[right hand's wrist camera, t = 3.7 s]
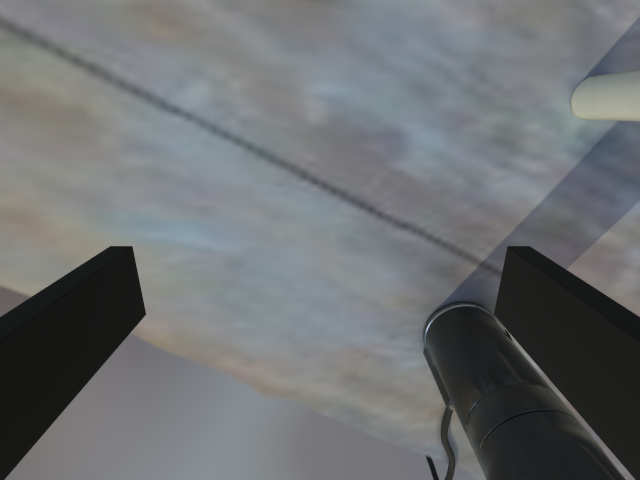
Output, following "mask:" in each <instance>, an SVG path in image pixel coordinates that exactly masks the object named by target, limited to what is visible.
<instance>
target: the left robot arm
mask: <svg viewBox="0 0 640 480" xmlns="http://www.w3.org/2000/svg"><path fill="white" fill-rule="evenodd" d="M505 331H506V330H505ZM506 333H507V334H506ZM506 333H505V332H504V331H503V330H502V328H501V327H500V326H499V325H498V324H497V322H496V321H495V319H494V318H493V316H492V315H491V314H490V313H489V312H488V311H487V310H486V309H485V308H484V307H482V306H480V305H478V304H476V303H472V302H456V303H452V304H449V305H446V306H444V307H442V308H440V309H439V310H437V311H436V312H435V313H434V314H433V315H432V316H431V317H430V318H429V320H428V321H427V323H426V325H425V327H424V331H423V341H424V344H425V346H426V347H425V350H424V352H423V353H424V355H425V358H426V360H427V362H428V365H429V367H430V369H431V372H432V374H433V376H434V379H435V381H436V383H437V386H438V388H439V390H440V393H441V395H442V397H443V400H444V402H445V404H446V406H447V408H446V411H445V414H444V417H443V421H442V427H441V440H442V444H443V446H444V449H445V451H446V453H447V455H448V458H449V466H448V471H447V475H446V478H445V480H452V479H453V475H454V470H455V457H454V454H453V451H452V449H451V447H450V445H449V442H448V438H447V433H448V426H449V422H450V419H451V415H452V413H453V411H456V413H457V415H458V418H459V420H460V422H461V424H462V426H463V429H464V431H465V433H466V435H467V437H468V439H469V442H470V444H471V446H472V448H473V450H474V453H475V455H476V457H477V459H478V461H479V464H480V466H481V468H482V471H483V473H484V475H485V477H486V480H626V478H625V477H624V476H623V475H622V474H621V472H620V471H619V470H618V469H617V468H616V466H615V465H614V464H613V463H612V461H611V460H610V459H609V458H608V456H607V455H606V454H605V452H604V451H603V449H602V448H601V446H600V445H599V444H598V443H597V441H596V440H595V439H594V438H593V437H592V436H591V435H590V433H589V432H588V431H587V430H586V429H585V427H584V426H583V425H582V424H581V423H580V421H579V420H578V419H577V418H576V417H575V415H574V414H573V413H572V412H571V411H570V409H569V408H568V407H567V406H566V405H565V403H564V402H563V401H562V400H561V399H560V398H559V397H558V395H557V394H556V393H555V392H554V390H553V389H552V388H551V387H550V386H549V384H548V383H547V382H546V381H545V380H544V379H543V377H542V376H541V375H540V374H539V373H538V371H537V370H536V369H535V368H534V367H533V365H532V364H531V363H530V362H529V361H528V359H527V358H526V357H525V356H524V355H523V353H522V352H521V351H520V350H519V349H518V347H517V346H516V345H515V344H514V343H513V341H512V339H511V337H510V335H509V333H508V332H507V331H506ZM507 335H508V336H507ZM425 456H426V459H427V462H428V464H429V467H430V470H431V473H432V477H433V480H439V478H438V475H437V472H436V469H435V466H434V463H433V460H432V458H431V457H430V456H427V455H425Z"/></svg>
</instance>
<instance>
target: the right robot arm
mask: <svg viewBox="0 0 640 480" xmlns="http://www.w3.org/2000/svg"><path fill="white" fill-rule="evenodd" d="M145 315H146V312H145V307H144V302H143V297H142V292H141V287H140V282H139V277H138V272H137V267H136V262H135V257H134V252H133V247H132V246H110V247H109V248H107V249H105V250H104V251H102V252H101V253H99V254H98V255H96V256H95V257H93V258H91V259H90V260H88V261H87V262H85V263H84V264H82V265H81V266H79V267H77V268H76V269H74V270H73V271H71V272H70V273H68V274H67V275H65V276H63V277H62V278H60V279H59V280H57V281H56V282H54V283H53V284H51V285H49V286H48V287H46V288H45V289H43V290H42V291H40V292H39V293H37V294H36V295H34V296H32V297H31V298H29V299H28V300H26V301H25V302H23V303H22V304H20V305H18V306H17V307H15V308H14V309H12V310H11V311H9V312H8V313H6V314H4V315H3V316H1V317H0V480H4V479H5V478H6V477H7V476H8V475H9V474H10V472H11V471H12V470H13V469H14V468H15V467H16V465H17V464H18V463H19V462H20V461H21V460H22V458H23V457H24V456H25V455H26V454H27V453H28V451H29V450H30V449H31V448H32V447H33V446H34V444H35V443H36V442H37V441H38V440H39V439H40V437H41V436H42V435H43V434H44V433H45V432H46V430H47V429H48V428H49V427H50V426H51V425H52V423H53V422H54V421H55V420H56V419H57V418H58V416H59V415H60V414H61V413H62V412H63V411H64V409H65V408H66V407H67V406H68V405H69V404H70V402H71V401H72V400H73V399H74V398H75V397H76V395H77V394H78V393H79V392H80V391H81V390H82V388H83V387H84V386H85V385H86V384H87V383H88V381H89V380H90V379H91V378H92V377H93V376H94V374H95V373H96V372H97V371H98V370H99V369H100V367H101V366H102V365H103V364H104V363H105V362H106V360H107V359H108V358H109V357H110V356H111V355H112V353H113V352H114V351H115V350H116V349H117V348H118V346H119V345H120V344H121V343H122V342H123V341H124V339H125V338H126V337H127V336H128V335H129V334H130V333H131V331H132V330H133V329H134V328H135V327H136V326H137V324H138V323H139V322H140V321H141V320H142V319H143V317H144V316H145ZM494 315H495V316H496V317H497V319H498V320H499V321H500V322H501V323H502V324H503V326H504V327H505V328H506V329H507V330H508V331H509V333H510V334H511V335H512V336H513V337H514V338H515V340H516V341H517V342H518V343H519V344H520V345H521V346H522V348H523V349H524V350H525V351H526V352H527V353H528V355H529V356H530V357H531V358H532V359H533V360H534V362H535V363H536V364H537V365H538V366H539V367H540V369H541V370H542V371H543V372H544V373H545V374H546V376H547V377H548V378H549V379H550V380H551V381H552V383H553V384H554V385H555V386H556V387H557V388H558V390H559V391H560V392H561V393H562V394H563V395H564V397H565V398H566V399H567V400H568V401H569V402H570V404H571V405H572V406H573V407H574V408H575V409H576V411H577V412H578V413H579V414H580V415H581V416H582V418H583V419H584V420H585V421H586V422H587V423H588V425H589V426H590V427H591V428H592V429H593V430H594V432H595V433H596V434H597V435H598V436H599V437H600V439H601V440H602V441H603V442H604V443H605V444H606V446H607V447H608V448H609V449H610V450H611V451H612V453H613V454H614V455H615V456H616V457H617V458H618V460H619V461H620V462H621V463H622V464H623V465H624V467H625V468H626V469H627V470H628V471H629V472H630V474H631V475H632V476H633V477H634V478H635V479H636V480H640V317H639V316H637V315H636V314H634V313H632V312H631V311H629V310H628V309H626V308H625V307H623V306H622V305H620V304H618V303H617V302H615V301H614V300H612V299H611V298H609V297H608V296H606V295H604V294H603V293H601V292H600V291H598V290H597V289H595V288H594V287H592V286H591V285H589V284H587V283H586V282H584V281H583V280H581V279H580V278H578V277H577V276H575V275H573V274H572V273H570V272H569V271H567V270H566V269H564V268H563V267H561V266H559V265H558V264H556V263H555V262H553V261H552V260H550V259H549V258H547V257H545V256H544V255H542V254H541V253H539V252H538V251H536V250H535V249H533V248H531V247H530V246H508V247H507V252H506V257H505V262H504V267H503V272H502V277H501V282H500V287H499V292H498V297H497V302H496V307H495V312H494Z"/></svg>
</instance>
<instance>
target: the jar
mask: <svg viewBox="0 0 640 480" xmlns="http://www.w3.org/2000/svg"><path fill="white" fill-rule="evenodd" d="M571 108H572V111H573V113H574V114H575V115H576V116H577V117H578V118H580V119H583V120H606V121H637V122H640V70H634V71H626V72H618V73H611V74H603V75H596V76H591V77H589V78H587V79H585V80H584V81H582V82H581V83H580V84H579V85H578V86H577V88H576V89H575V91H574V93H573V95H572V99H571Z"/></svg>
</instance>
